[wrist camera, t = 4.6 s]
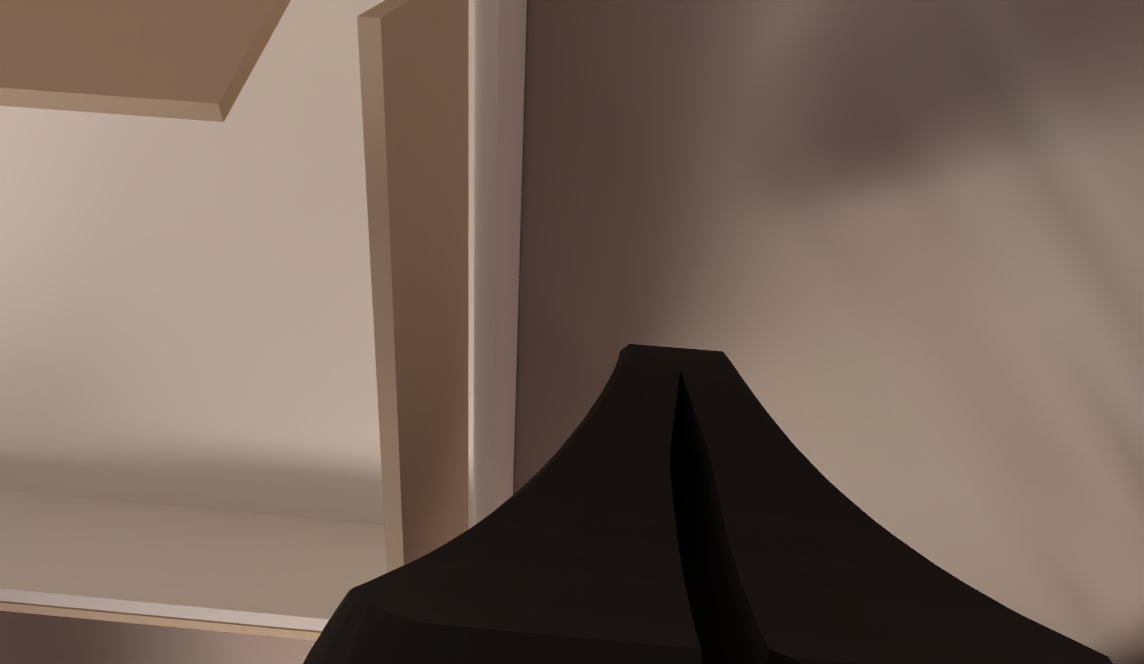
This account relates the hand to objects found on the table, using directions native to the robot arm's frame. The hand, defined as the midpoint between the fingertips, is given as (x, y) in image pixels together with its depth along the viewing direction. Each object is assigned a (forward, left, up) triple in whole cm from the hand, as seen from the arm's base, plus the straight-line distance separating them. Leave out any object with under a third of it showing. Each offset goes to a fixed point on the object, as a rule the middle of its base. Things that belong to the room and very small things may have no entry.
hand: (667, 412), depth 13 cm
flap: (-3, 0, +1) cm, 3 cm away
